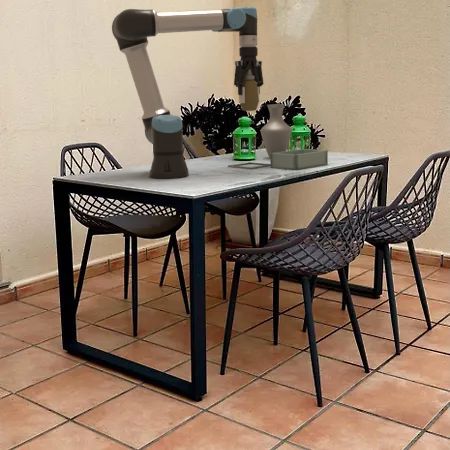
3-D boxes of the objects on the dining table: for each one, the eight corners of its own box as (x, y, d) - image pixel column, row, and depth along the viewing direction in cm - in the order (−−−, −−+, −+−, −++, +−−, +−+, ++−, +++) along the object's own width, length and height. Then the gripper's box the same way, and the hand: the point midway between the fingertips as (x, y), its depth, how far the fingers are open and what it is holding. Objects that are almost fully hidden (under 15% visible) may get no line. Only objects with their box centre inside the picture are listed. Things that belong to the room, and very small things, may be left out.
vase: (284, 156, 308) (284, 103, 303) (297, 159, 295) (296, 104, 290) (256, 157, 304) (255, 104, 299) (268, 161, 291) (267, 105, 285)
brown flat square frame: (251, 169, 264) (251, 167, 264) (227, 166, 274) (227, 165, 274) (273, 165, 273) (273, 164, 273) (250, 163, 283) (250, 162, 283)
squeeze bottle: (262, 110, 267) (261, 66, 263) (244, 111, 263) (244, 66, 259) (253, 110, 274) (253, 66, 270) (236, 110, 271) (235, 67, 267)
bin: (295, 170, 258) (295, 155, 256) (270, 167, 267) (270, 153, 266) (327, 164, 272) (327, 150, 271) (302, 162, 282) (302, 148, 280)
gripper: (236, 45, 253) (238, 103, 258) (272, 46, 267) (272, 101, 272) (223, 46, 259) (225, 103, 263) (259, 47, 273) (259, 101, 278)
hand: (249, 102), depth 268 cm, fingers closed on squeeze bottle, 8 cm apart
